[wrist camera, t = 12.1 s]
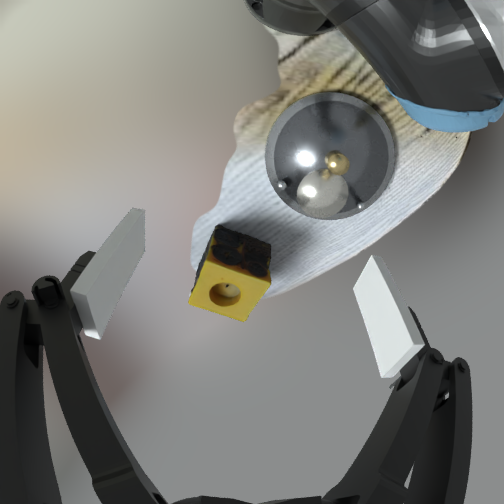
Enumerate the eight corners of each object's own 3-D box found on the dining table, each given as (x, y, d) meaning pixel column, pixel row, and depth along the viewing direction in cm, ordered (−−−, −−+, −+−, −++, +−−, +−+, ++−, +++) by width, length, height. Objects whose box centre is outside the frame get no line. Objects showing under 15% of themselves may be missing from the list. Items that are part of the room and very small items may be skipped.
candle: (271, 243, 47) (274, 282, 38) (248, 284, 52) (246, 324, 44) (215, 222, 44) (206, 258, 36) (197, 266, 50) (186, 304, 41)
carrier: (283, 75, 31) (286, 73, 27) (406, 120, 33) (419, 125, 29) (251, 201, 42) (251, 212, 39) (365, 227, 44) (372, 240, 41)
